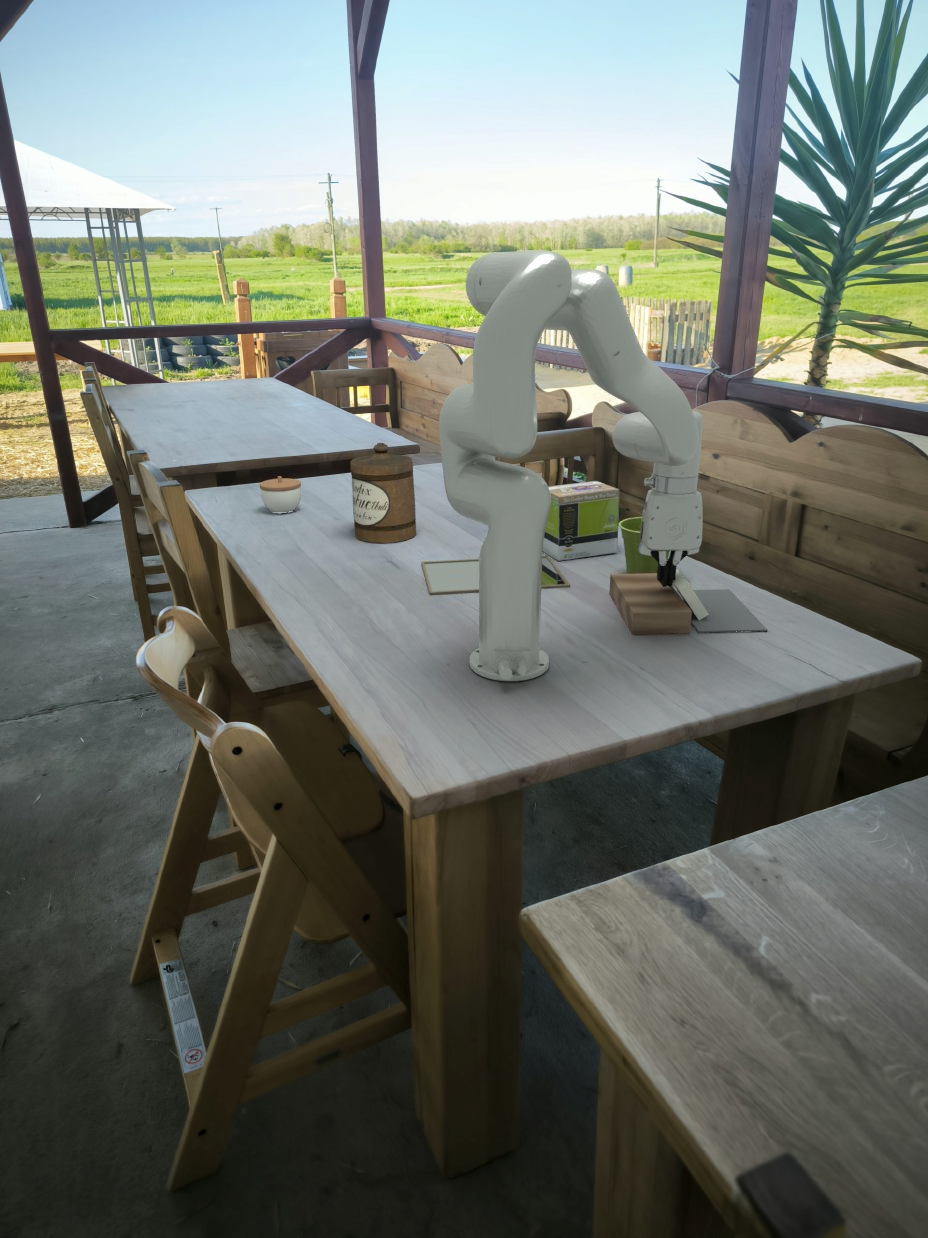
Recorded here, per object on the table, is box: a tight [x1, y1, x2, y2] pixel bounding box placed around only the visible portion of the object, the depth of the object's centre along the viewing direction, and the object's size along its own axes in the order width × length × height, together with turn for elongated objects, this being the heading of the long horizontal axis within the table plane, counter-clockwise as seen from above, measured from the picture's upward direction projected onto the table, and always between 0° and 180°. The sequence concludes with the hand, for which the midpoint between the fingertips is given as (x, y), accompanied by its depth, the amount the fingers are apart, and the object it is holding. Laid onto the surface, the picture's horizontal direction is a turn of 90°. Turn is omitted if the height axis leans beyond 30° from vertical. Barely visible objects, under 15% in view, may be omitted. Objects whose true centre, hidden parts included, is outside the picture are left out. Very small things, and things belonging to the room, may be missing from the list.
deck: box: [608, 573, 692, 635], centre depth 148 cm, size 20×10×4 cm, turn 2°
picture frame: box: [420, 554, 571, 596], centre depth 169 cm, size 19×1×28 cm
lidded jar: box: [259, 475, 302, 513], centre depth 217 cm, size 11×11×9 cm
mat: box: [675, 588, 768, 634], centre depth 149 cm, size 20×12×1 cm, turn 2°
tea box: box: [542, 480, 620, 562], centre depth 180 cm, size 15×10×15 cm, turn 111°
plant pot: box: [618, 516, 670, 574], centre depth 165 cm, size 12×12×11 cm
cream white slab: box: [672, 568, 709, 620], centre depth 148 cm, size 10×7×2 cm
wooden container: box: [349, 442, 417, 544], centre depth 193 cm, size 15×15×22 cm
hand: (665, 584), depth 147 cm, fingers closed
